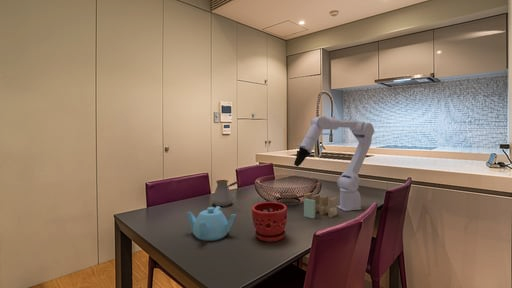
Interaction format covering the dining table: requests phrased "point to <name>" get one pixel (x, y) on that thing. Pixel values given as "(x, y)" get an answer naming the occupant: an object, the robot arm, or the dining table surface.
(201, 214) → the teapot
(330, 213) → the domino
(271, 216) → the plant pot
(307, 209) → the teal domino
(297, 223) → the dining table surface
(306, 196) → the domino
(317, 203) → the domino
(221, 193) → the coffee pot
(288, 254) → the dining table surface
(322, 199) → the domino
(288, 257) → the dining table surface
